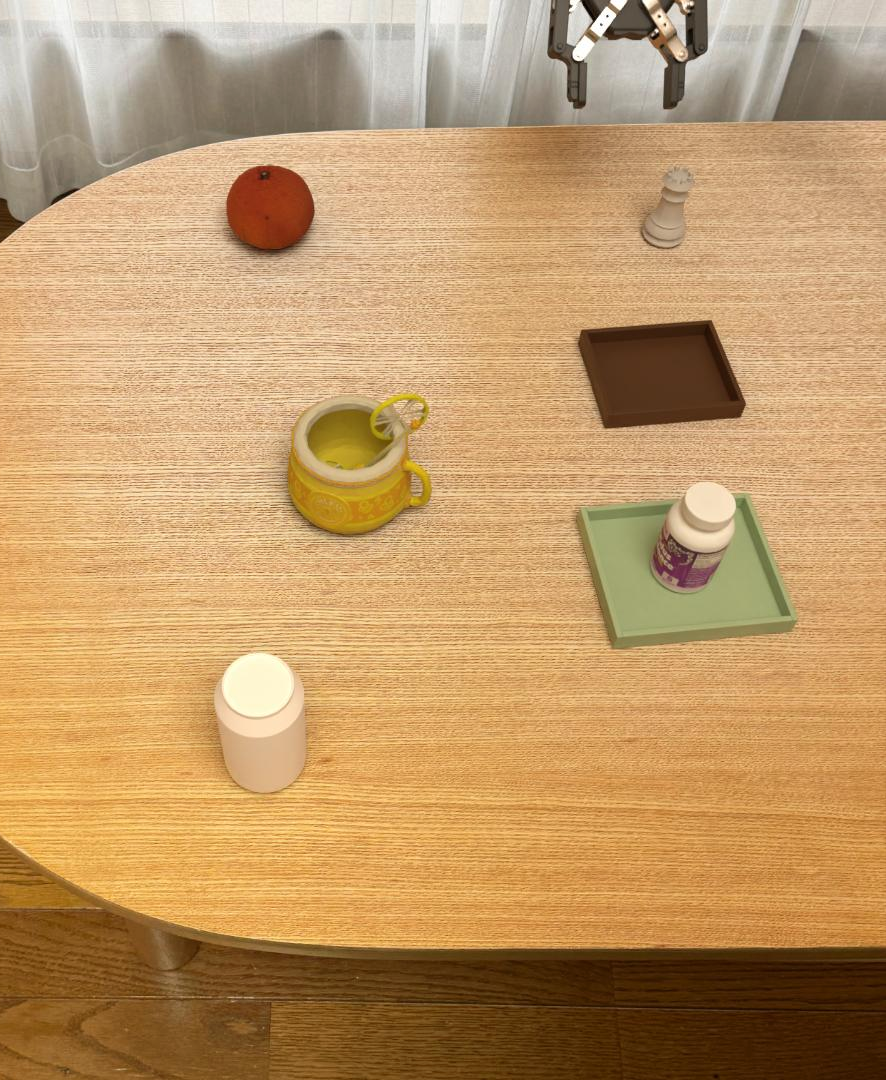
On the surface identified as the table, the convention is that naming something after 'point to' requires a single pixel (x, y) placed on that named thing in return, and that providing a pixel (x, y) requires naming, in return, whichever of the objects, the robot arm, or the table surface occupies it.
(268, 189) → the fruit
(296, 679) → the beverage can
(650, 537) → the green tray
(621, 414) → the walnut tray
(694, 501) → the pill bottle
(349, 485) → the mug
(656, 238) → the rook chess piece
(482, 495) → the table surface
